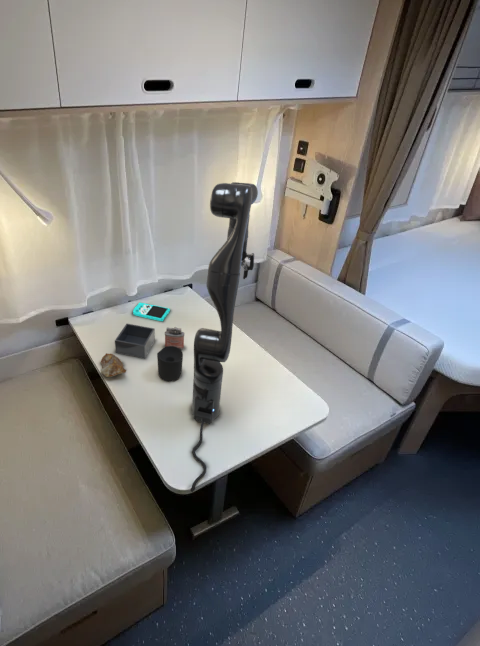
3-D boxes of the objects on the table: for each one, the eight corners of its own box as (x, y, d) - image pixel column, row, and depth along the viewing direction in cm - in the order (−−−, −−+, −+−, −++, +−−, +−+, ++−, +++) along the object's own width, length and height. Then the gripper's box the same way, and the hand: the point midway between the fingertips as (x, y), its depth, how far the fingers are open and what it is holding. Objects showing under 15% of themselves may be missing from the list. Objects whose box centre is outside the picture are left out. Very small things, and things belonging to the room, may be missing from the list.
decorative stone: (106, 375, 143) (92, 355, 155) (108, 384, 145) (94, 365, 157) (130, 366, 147) (115, 348, 159) (132, 375, 149) (116, 357, 161)
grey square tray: (144, 358, 159) (144, 346, 155) (115, 352, 162) (114, 340, 158) (155, 340, 169) (154, 328, 165) (127, 335, 172) (126, 323, 168)
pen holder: (184, 380, 148) (185, 360, 143) (160, 384, 146) (159, 363, 141) (179, 364, 156) (179, 344, 150) (155, 367, 154) (155, 347, 148)
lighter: (184, 345, 166) (184, 326, 160) (183, 350, 163) (184, 331, 157) (165, 344, 166) (165, 325, 161) (164, 349, 163) (164, 329, 158)
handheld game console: (139, 303, 193) (139, 301, 192) (170, 310, 188) (170, 308, 187) (130, 314, 185) (130, 312, 184) (162, 321, 180) (162, 319, 180)
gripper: (216, 239, 146) (213, 278, 155) (255, 244, 142) (250, 283, 151) (220, 231, 152) (217, 269, 161) (258, 236, 148) (253, 274, 157)
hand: (233, 276), depth 156 cm, fingers open, 8 cm apart
